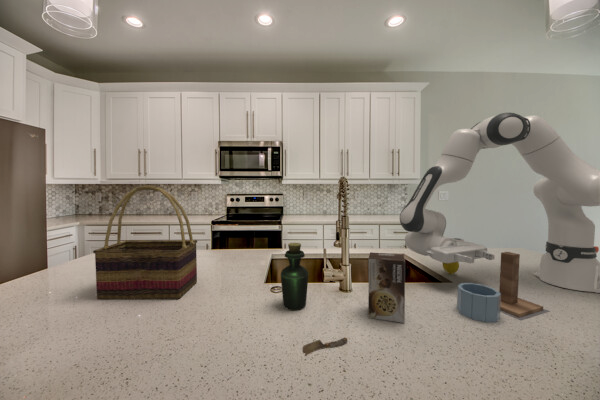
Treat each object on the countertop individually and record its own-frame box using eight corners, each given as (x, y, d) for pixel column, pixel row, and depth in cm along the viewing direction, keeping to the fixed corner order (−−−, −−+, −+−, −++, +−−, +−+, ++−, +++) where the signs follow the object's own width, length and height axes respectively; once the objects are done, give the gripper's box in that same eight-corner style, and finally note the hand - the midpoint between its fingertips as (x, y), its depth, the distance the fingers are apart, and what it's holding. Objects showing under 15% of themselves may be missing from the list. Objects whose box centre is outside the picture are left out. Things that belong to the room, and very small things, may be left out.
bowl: (471, 304, 73) (472, 281, 73) (507, 320, 65) (509, 293, 64) (449, 309, 70) (450, 285, 70) (484, 327, 61) (485, 299, 61)
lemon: (461, 277, 95) (461, 256, 95) (445, 276, 97) (445, 255, 96) (455, 272, 101) (455, 252, 100) (440, 271, 102) (440, 252, 102)
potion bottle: (292, 296, 79) (291, 239, 78) (314, 303, 74) (314, 243, 73) (274, 306, 72) (274, 244, 71) (297, 315, 67) (297, 249, 66)
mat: (497, 294, 81) (497, 292, 81) (549, 313, 68) (550, 311, 68) (470, 300, 76) (470, 299, 76) (520, 322, 64) (520, 320, 64)
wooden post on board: (499, 294, 79) (501, 247, 78) (543, 310, 69) (546, 256, 68) (475, 299, 75) (477, 250, 74) (518, 317, 65) (521, 260, 64)
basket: (92, 300, 76) (87, 185, 74) (126, 282, 90) (122, 185, 89) (180, 300, 76) (177, 185, 74) (199, 282, 91) (197, 185, 89)
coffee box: (403, 312, 69) (404, 254, 68) (404, 324, 63) (406, 260, 62) (369, 306, 72) (369, 251, 71) (367, 317, 66) (368, 257, 65)
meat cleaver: (294, 344, 56) (296, 361, 51) (293, 339, 56) (296, 355, 51) (345, 338, 57) (352, 354, 52) (345, 334, 57) (352, 349, 52)
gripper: (422, 242, 87) (460, 252, 74) (463, 238, 95) (504, 246, 82) (421, 260, 88) (459, 273, 75) (462, 254, 95) (503, 265, 82)
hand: (483, 259), depth 78 cm, fingers open, 8 cm apart
